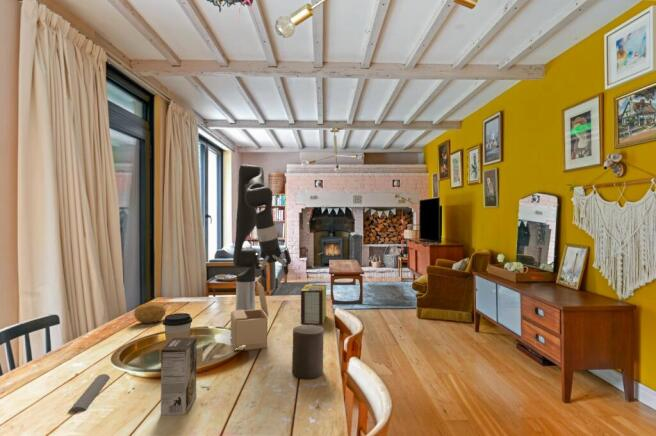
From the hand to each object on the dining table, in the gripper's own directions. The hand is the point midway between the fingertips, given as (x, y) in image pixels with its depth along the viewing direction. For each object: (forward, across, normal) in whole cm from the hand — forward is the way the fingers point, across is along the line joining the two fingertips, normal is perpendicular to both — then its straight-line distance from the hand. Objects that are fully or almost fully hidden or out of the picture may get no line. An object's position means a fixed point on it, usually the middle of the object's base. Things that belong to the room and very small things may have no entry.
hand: (276, 275), depth 144 cm
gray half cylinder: (+8, +43, +53) cm, 69 cm away
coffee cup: (+14, +31, +30) cm, 46 cm away
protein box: (+33, -7, -22) cm, 40 cm away
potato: (+18, +66, -11) cm, 69 cm away
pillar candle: (+20, -14, +36) cm, 44 cm away
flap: (+12, +6, +7) cm, 15 cm away
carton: (+21, +13, +12) cm, 28 cm away
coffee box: (+11, +16, +58) cm, 61 cm away
